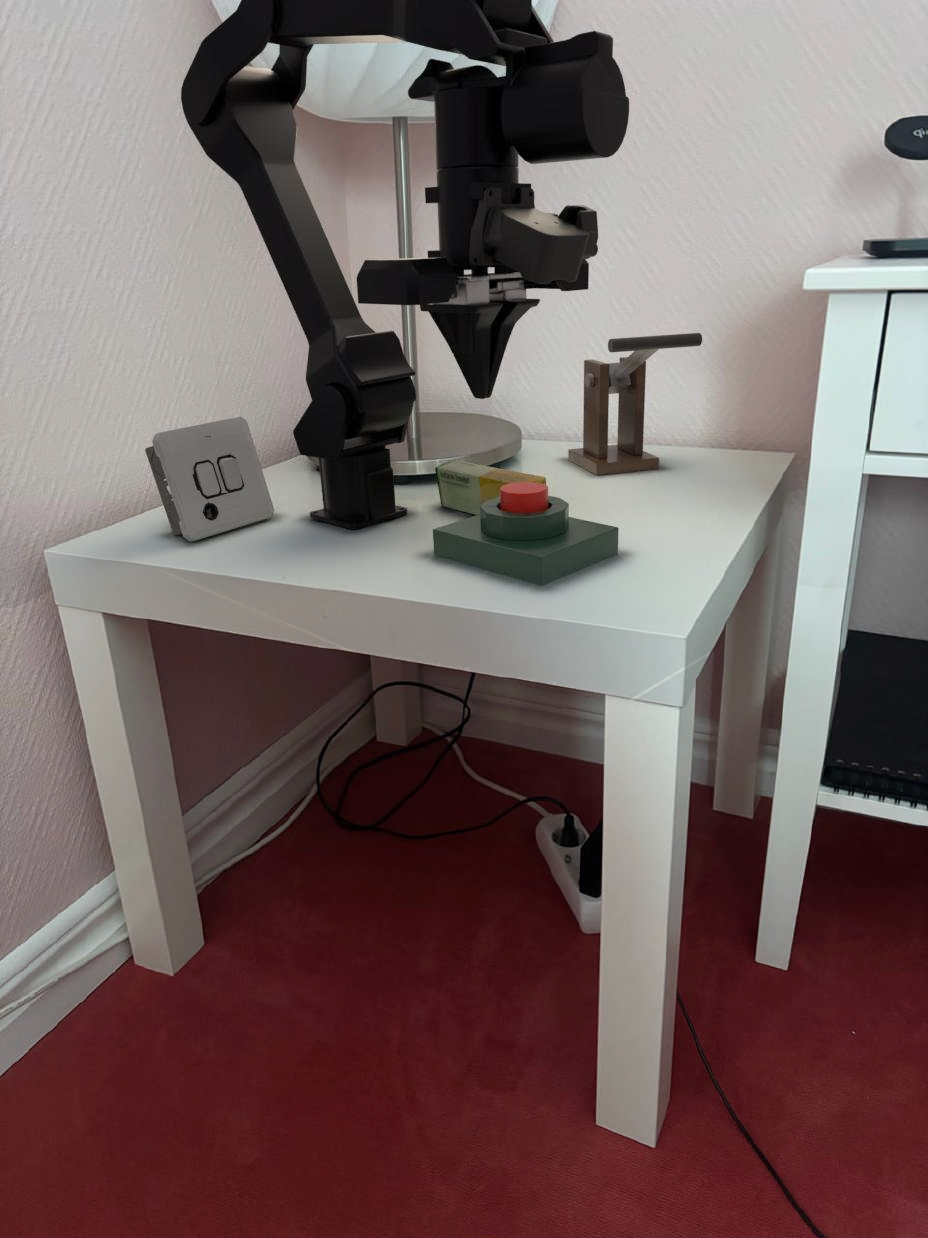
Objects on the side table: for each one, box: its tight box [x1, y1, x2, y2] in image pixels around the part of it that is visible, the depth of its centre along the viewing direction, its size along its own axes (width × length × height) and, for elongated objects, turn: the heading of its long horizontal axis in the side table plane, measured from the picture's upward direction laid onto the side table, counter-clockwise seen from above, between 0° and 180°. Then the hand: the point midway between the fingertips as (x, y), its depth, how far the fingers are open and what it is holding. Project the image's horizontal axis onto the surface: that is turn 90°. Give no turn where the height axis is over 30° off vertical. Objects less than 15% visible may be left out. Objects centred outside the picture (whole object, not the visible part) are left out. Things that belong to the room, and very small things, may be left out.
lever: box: [607, 332, 703, 395], centre depth 89 cm, size 12×9×2 cm
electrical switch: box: [144, 416, 275, 542], centre depth 79 cm, size 9×5×9 cm, turn 141°
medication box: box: [434, 459, 548, 516], centre depth 79 cm, size 12×3×4 cm, turn 41°
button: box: [500, 482, 549, 513], centre depth 68 cm, size 4×4×2 cm
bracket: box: [567, 356, 660, 476], centre depth 95 cm, size 8×7×11 cm
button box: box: [432, 495, 620, 587], centre depth 69 cm, size 11×9×4 cm
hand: (482, 397), depth 69 cm, fingers closed
